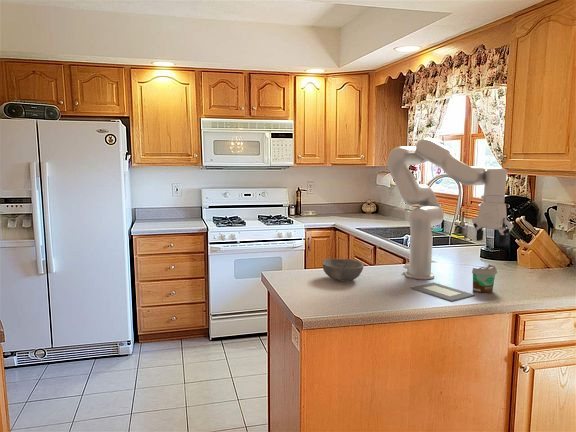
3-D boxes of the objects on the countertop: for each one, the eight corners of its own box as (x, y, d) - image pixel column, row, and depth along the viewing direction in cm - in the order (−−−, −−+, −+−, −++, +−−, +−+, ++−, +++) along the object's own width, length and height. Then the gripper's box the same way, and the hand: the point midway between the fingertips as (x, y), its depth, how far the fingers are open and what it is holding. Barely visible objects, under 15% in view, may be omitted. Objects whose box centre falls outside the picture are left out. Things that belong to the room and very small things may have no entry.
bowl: (362, 287, 190) (362, 268, 189) (319, 284, 193) (319, 265, 192) (363, 276, 207) (364, 258, 206) (324, 273, 211) (325, 256, 210)
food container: (484, 296, 180) (486, 271, 178) (470, 292, 185) (472, 268, 183) (501, 291, 187) (503, 267, 186) (487, 287, 192) (489, 264, 191)
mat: (410, 288, 189) (410, 286, 189) (433, 283, 197) (433, 282, 197) (451, 301, 173) (451, 300, 172) (474, 295, 180) (474, 294, 180)
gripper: (468, 197, 186) (465, 239, 188) (509, 202, 171) (505, 247, 174) (480, 197, 190) (476, 238, 192) (520, 201, 175) (516, 245, 178)
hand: (490, 242), depth 183 cm, fingers open, 9 cm apart
